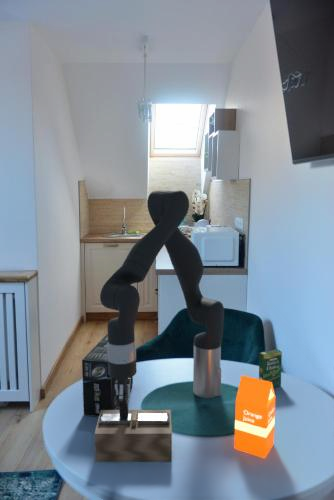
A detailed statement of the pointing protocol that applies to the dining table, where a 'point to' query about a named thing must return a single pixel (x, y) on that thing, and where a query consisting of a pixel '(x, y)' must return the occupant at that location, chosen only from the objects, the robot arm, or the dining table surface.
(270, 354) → the coffee box
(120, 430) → the wooden latch case
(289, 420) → the dining table surface
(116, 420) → the clasp
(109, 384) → the box
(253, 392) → the orange juice
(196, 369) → the robot arm
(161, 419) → the clasp
